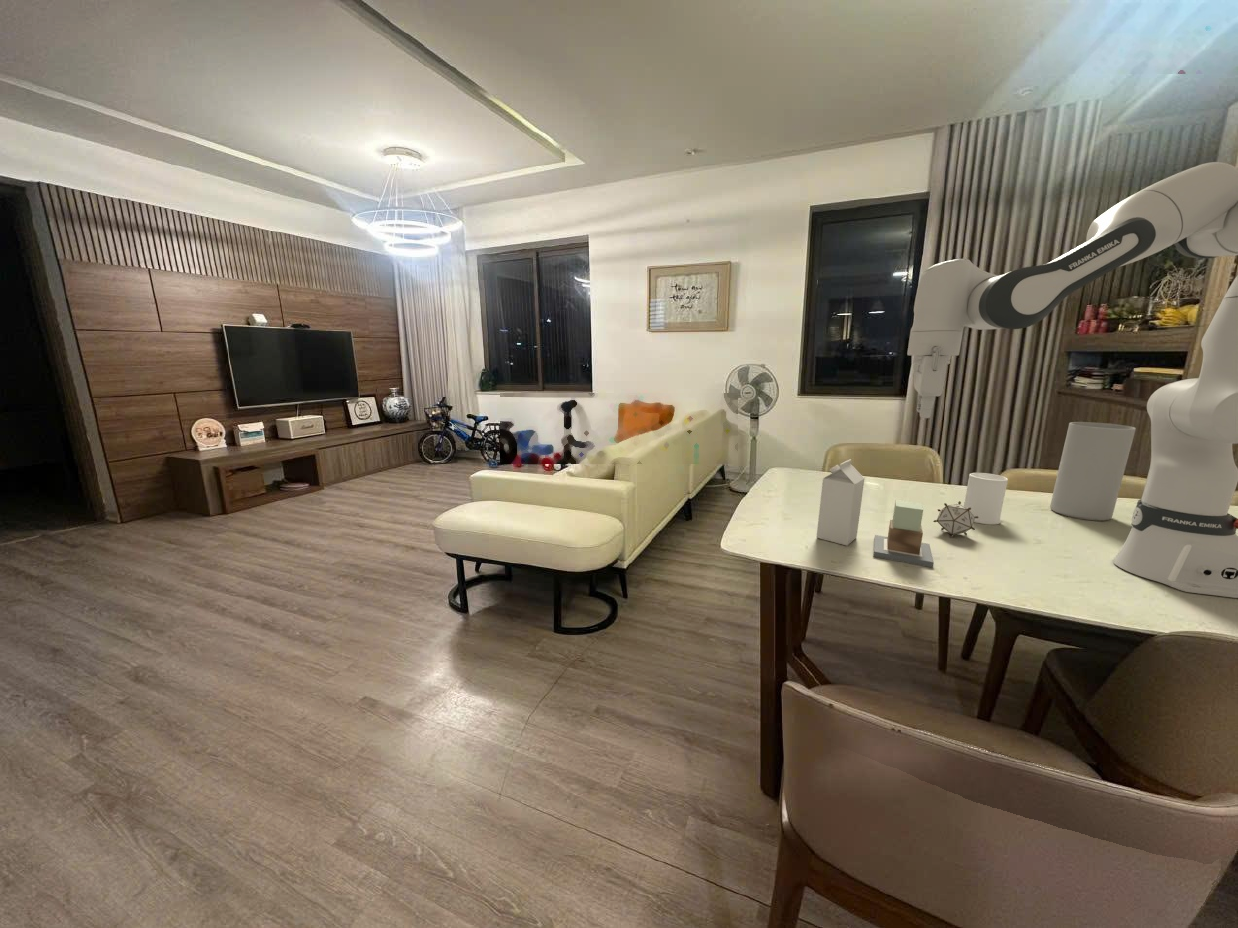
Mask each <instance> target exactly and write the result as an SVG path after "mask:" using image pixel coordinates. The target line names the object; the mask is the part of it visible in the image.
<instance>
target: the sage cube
mask: <svg viewBox="0 0 1238 928" xmlns="http://www.w3.org/2000/svg"><path fill="white" fill-rule="evenodd" d="M923 513H924V508H923V503H922V502H913V501H908V500H907V501H906V500H899V499H896V500H895V502H894V509H893V514H892V520H893V528H898V529H904V530H910V531H917V532H920V527H921V526H922V520H923V515H924V514H923Z"/></svg>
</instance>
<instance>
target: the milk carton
mask: <svg viewBox="0 0 1238 928" xmlns="http://www.w3.org/2000/svg"><path fill="white" fill-rule="evenodd" d="M851 463H852V459H847V460H846V461H844V462H841V463H840V464H836V465H834V466H832V467H831V468H829V471H830V472H831V473H830V474H828V475H826V476H825V477H823V478H822V482H821V483H822V485H821V493H820V494H821V495H820V503H819V510H818V511H819V512H818V521H817V529H816V538H817V539H820V540H824V541H827V542H832V543H834V544H840V545H844V546H849V545H850V544H851V543H853V541H854V540H855V539H857V538H858V530H859V521H860V515H861V506H862V502H863V501H862V499H863V491H864V485H865V477H864V476H863V475H862V474H861V473H860V472H859V471H858V470H857V469H856V467H855V466H854V465H852V464H851Z"/></svg>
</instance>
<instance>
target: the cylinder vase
mask: <svg viewBox="0 0 1238 928" xmlns="http://www.w3.org/2000/svg"><path fill="white" fill-rule="evenodd" d="M1135 433H1136V427H1134V426H1129V425H1123V424H1122V425H1121V424H1115V423H1106V422H1104V423H1103V422H1089V421H1088V422H1087V421H1086V422H1085V421H1074V422H1073V421H1072V422H1069V423H1068V428H1067V433H1066V436H1065V441H1064V443H1063V444H1064V446H1063V449H1062V454H1061V457H1060V462H1059V466H1058V470H1057V474H1056V475H1057V476H1056V480H1055V482H1054V483H1055V484H1054V488H1053V493H1052V497H1051V499H1050V500H1051V502H1050V504H1049V505H1050V506H1049V507H1050V510H1052V511H1053V512H1055V513H1057V514H1059V515H1062V516H1066V517H1069V518H1074V519H1079V520H1086V521H1097V522H1103V521H1108V520H1112V518H1113V515H1114V511H1115V508H1116V504H1117V501H1118V496H1119V493H1120V491H1121V490H1120V489H1121V486H1122V482H1123V477H1124V475H1125V470H1126V466H1127V463H1128V459H1129V454H1130V453H1131V448H1132V444H1133V441H1134V437H1135Z"/></svg>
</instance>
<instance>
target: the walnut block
mask: <svg viewBox="0 0 1238 928" xmlns="http://www.w3.org/2000/svg"><path fill="white" fill-rule="evenodd" d="M923 535H924V531H923V527H922V525H921V527H920V532H917V531H910V530H904V529H898V528H893V519H890V521H889V527H888V534H887V537H888V539H887V549H889V550H894V551H900V552H905V553H911V554H917V555H919V554H920V548H921V543H923V541H922V540H923Z"/></svg>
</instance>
